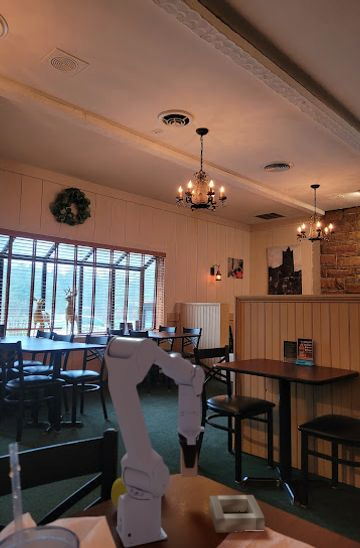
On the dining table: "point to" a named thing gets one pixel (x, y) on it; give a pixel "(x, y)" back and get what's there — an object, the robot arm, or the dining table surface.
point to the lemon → (118, 491)
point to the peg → (188, 471)
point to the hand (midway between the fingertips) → (188, 464)
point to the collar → (236, 521)
